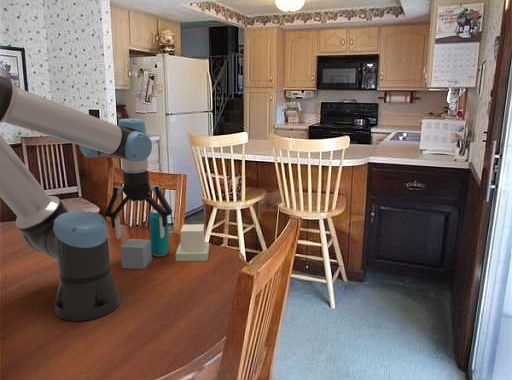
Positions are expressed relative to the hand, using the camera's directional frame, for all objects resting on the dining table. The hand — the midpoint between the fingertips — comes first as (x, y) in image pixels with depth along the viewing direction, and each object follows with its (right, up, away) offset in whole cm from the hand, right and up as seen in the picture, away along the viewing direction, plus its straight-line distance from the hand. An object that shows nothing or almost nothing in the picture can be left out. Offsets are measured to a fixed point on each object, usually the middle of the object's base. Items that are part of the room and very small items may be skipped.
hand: (140, 237), depth 132 cm
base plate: (+15, -7, +7) cm, 18 cm away
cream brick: (+15, -4, +7) cm, 17 cm away
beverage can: (+4, -7, +8) cm, 11 cm away
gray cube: (-1, -9, 0) cm, 9 cm away
